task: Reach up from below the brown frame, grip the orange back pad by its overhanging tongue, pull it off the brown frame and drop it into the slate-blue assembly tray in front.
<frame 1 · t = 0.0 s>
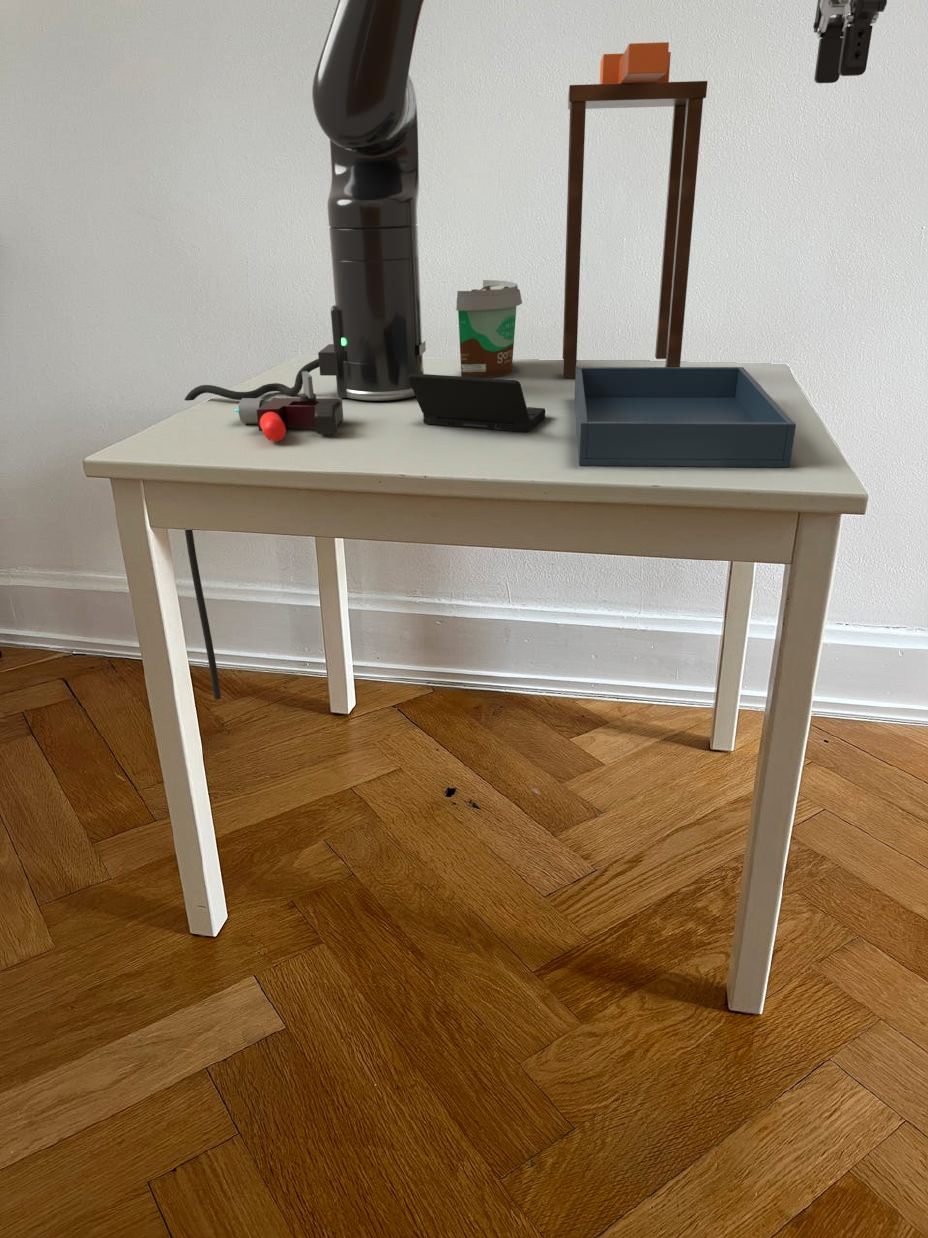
hand: (838, 79, 84), 29 cm above the table, tool pointing down, fingers open, 8 cm apart
brown frame: (617, 367, 112), on the table
food container: (495, 372, 111), on the table
toy gun: (281, 434, 87), on the table
handheld gaming console: (479, 427, 88), on the table
back pad: (632, 88, 99), point 30 cm above the table, touching brown frame
tray: (668, 430, 85), on the table
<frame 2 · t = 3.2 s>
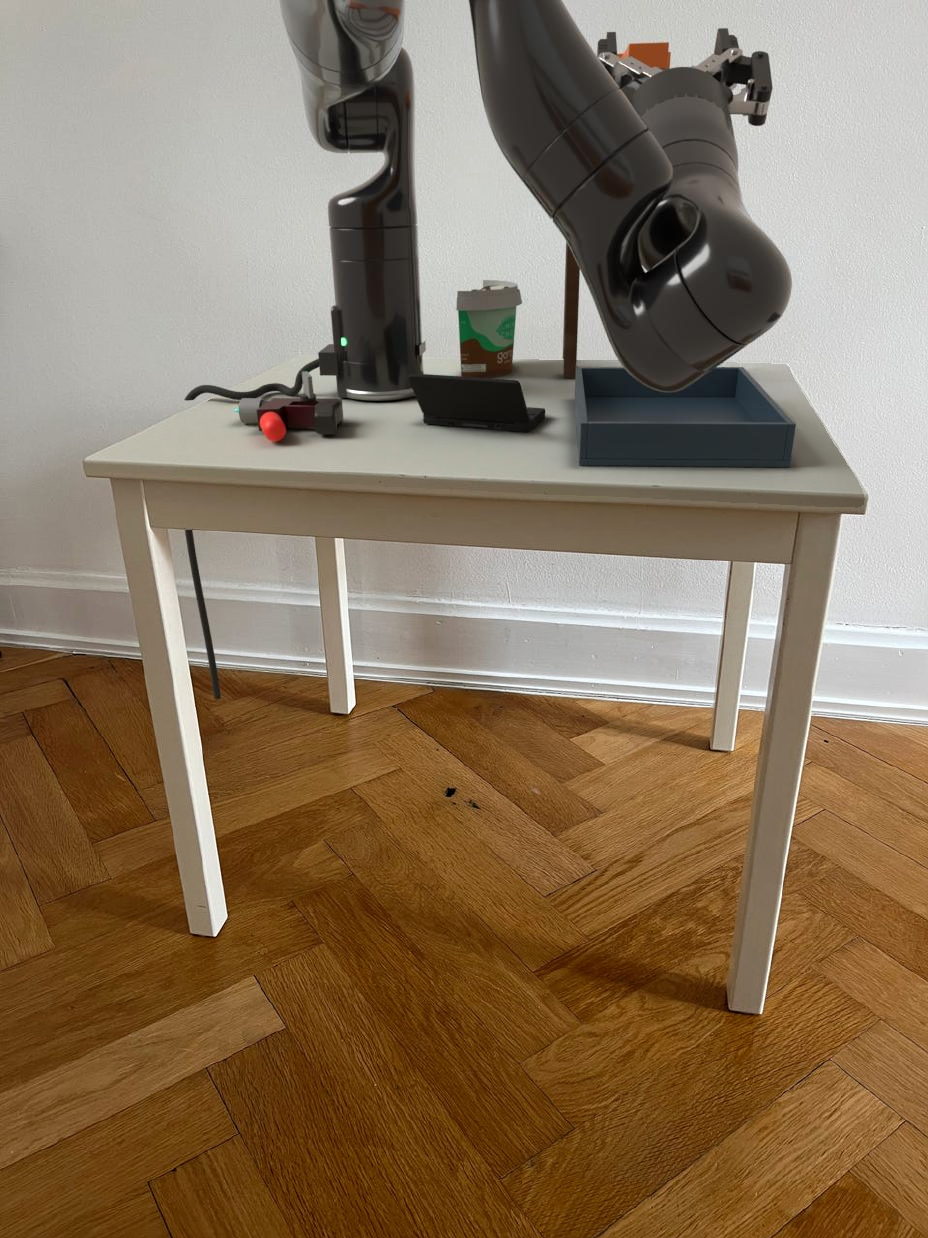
hand: (664, 42, 71), 31 cm above the table, tool pointing upward, fingers open, 8 cm apart
nothing on the table moved.
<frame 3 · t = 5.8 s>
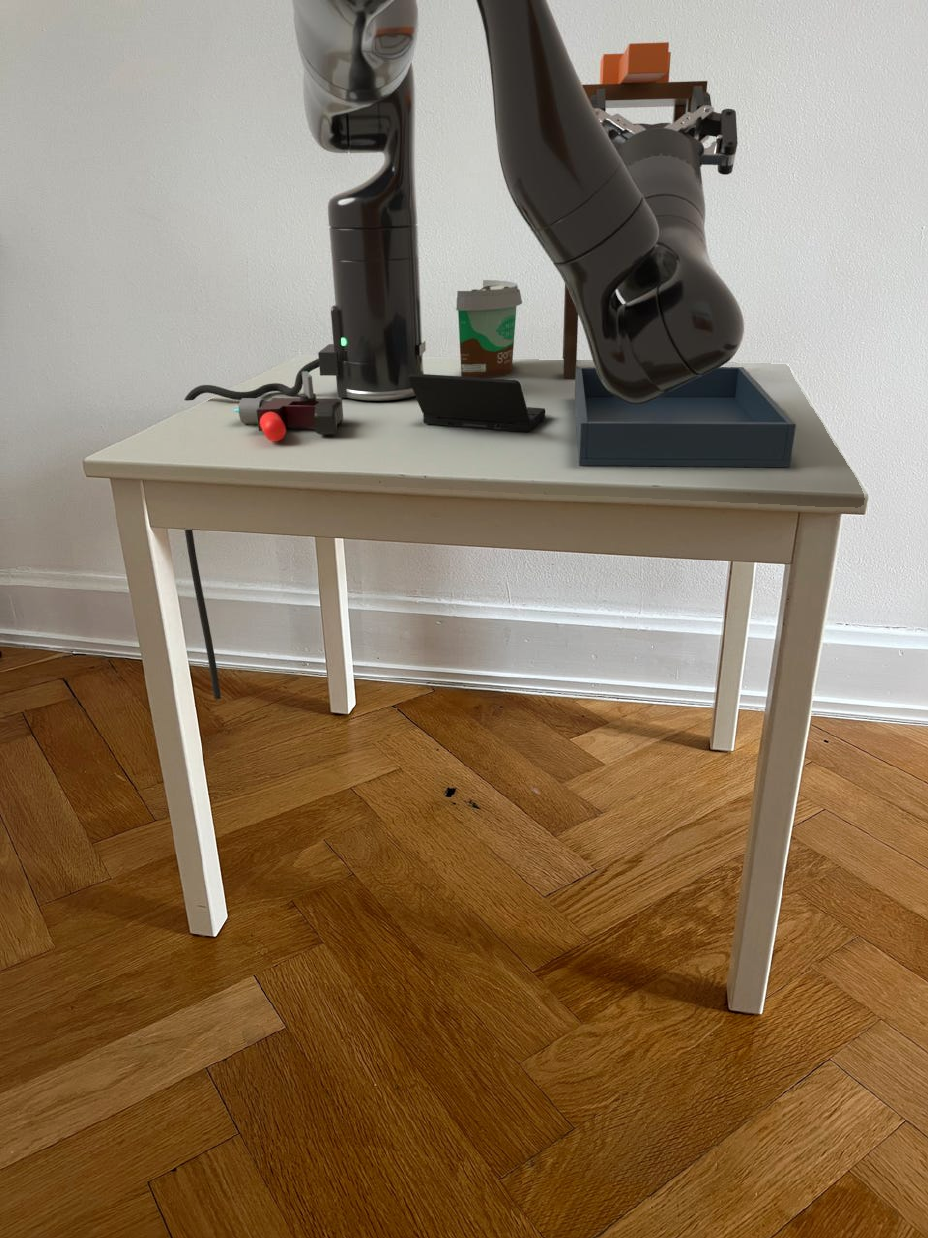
hand: (647, 97, 81), 28 cm above the table, tool pointing upward, fingers open, 8 cm apart
nothing on the table moved.
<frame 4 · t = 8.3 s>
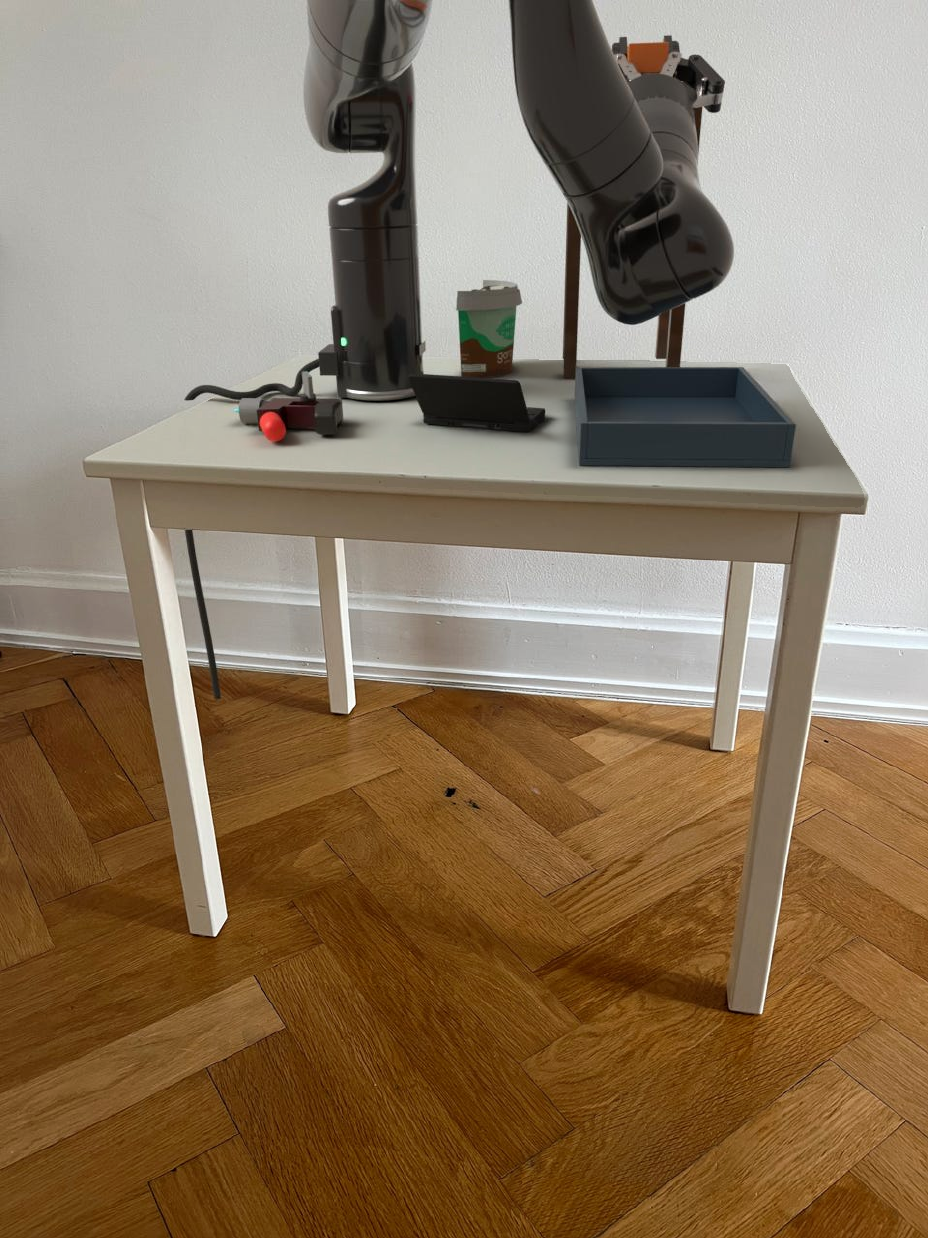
hand: (643, 46, 87), 33 cm above the table, tool pointing upward, fingers closed on back pad, 3 cm apart
back pad: (632, 88, 99), point 30 cm above the table, touching gripper, brown frame
everything else where it was.
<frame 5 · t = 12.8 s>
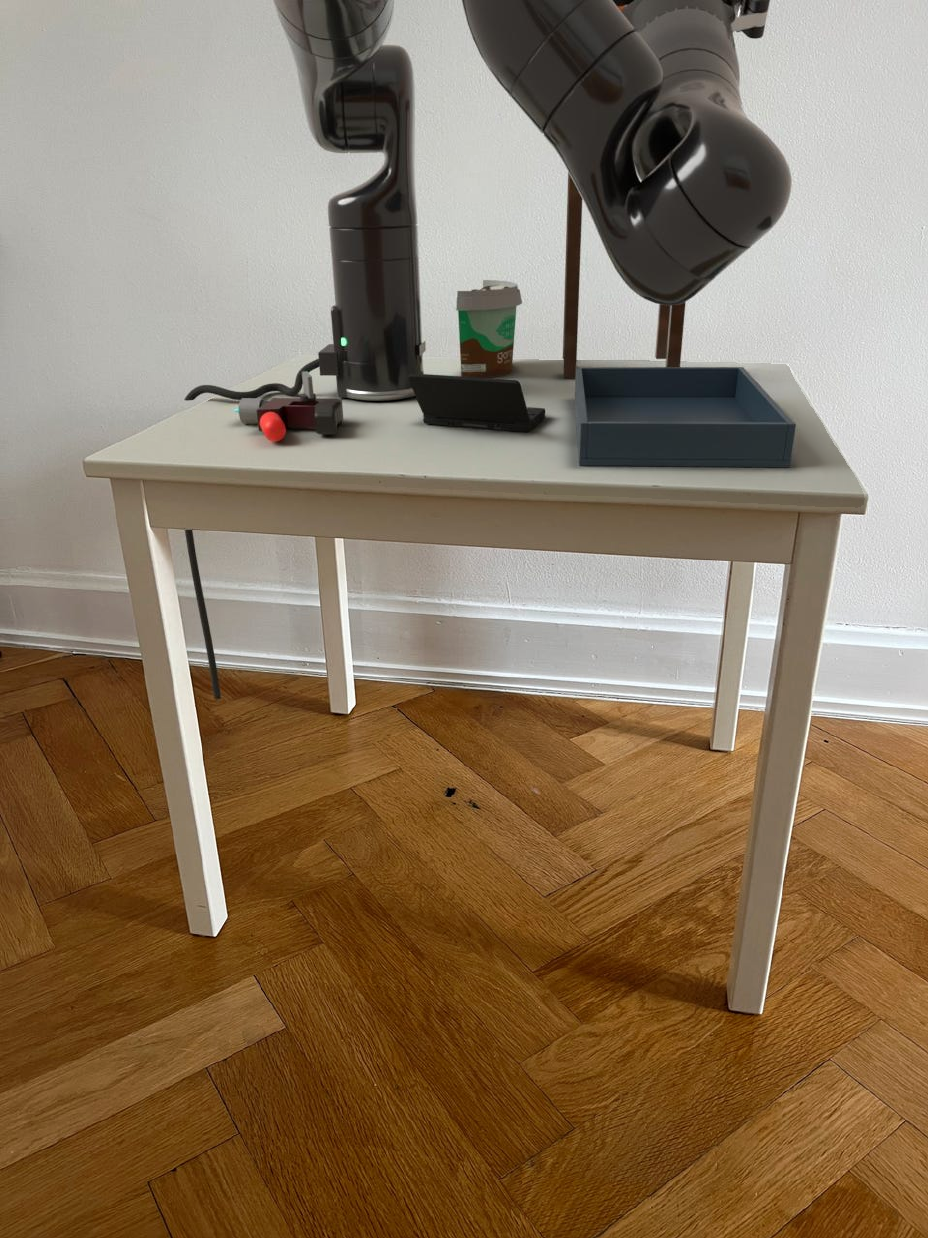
back pad: (649, 26, 83), point 34 cm above the table, touching gripper
everything else where it was.
when the fingers open (22 cm above the table, at t = 17.6 s): back pad drops 18 cm, resting on tray.
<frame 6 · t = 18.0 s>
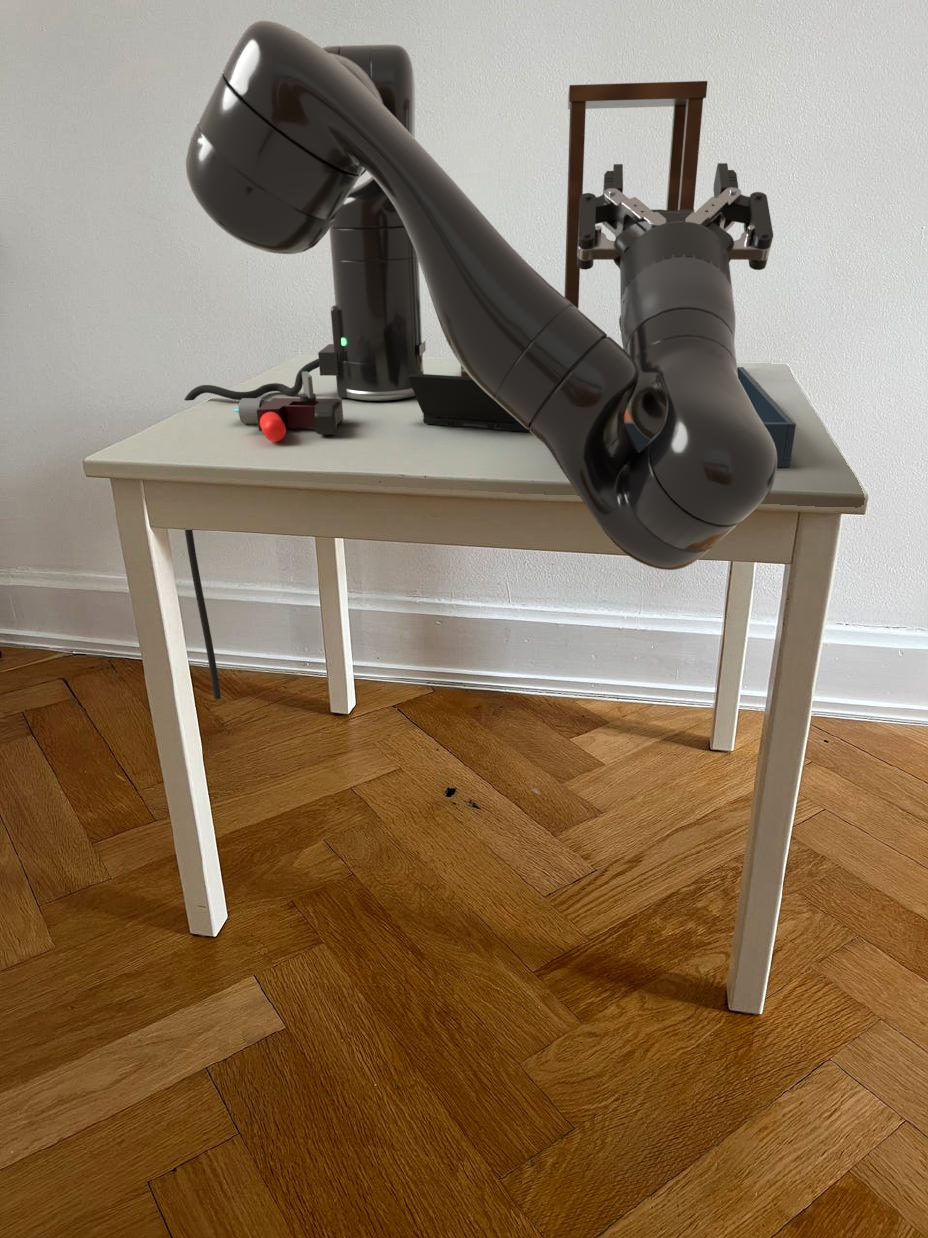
hand: (667, 174, 71), 22 cm above the table, tool pointing upward, fingers open, 7 cm apart
back pad: (637, 405, 91), point 1 cm above the table, touching tray
everything else where it was.
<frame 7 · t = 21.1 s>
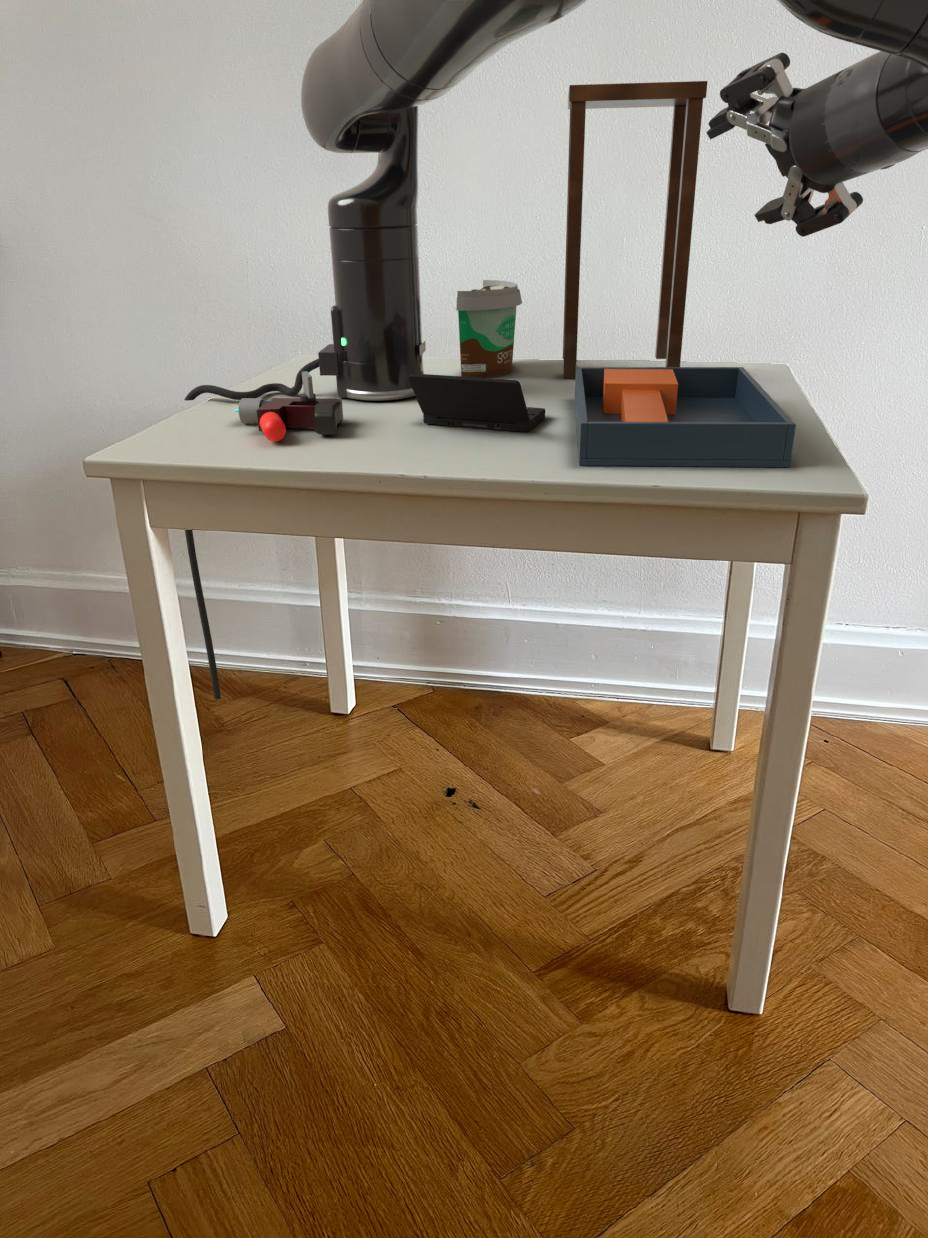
hand: (738, 171, 82), 22 cm above the table, tool horizontal, fingers open, 8 cm apart
nothing on the table moved.
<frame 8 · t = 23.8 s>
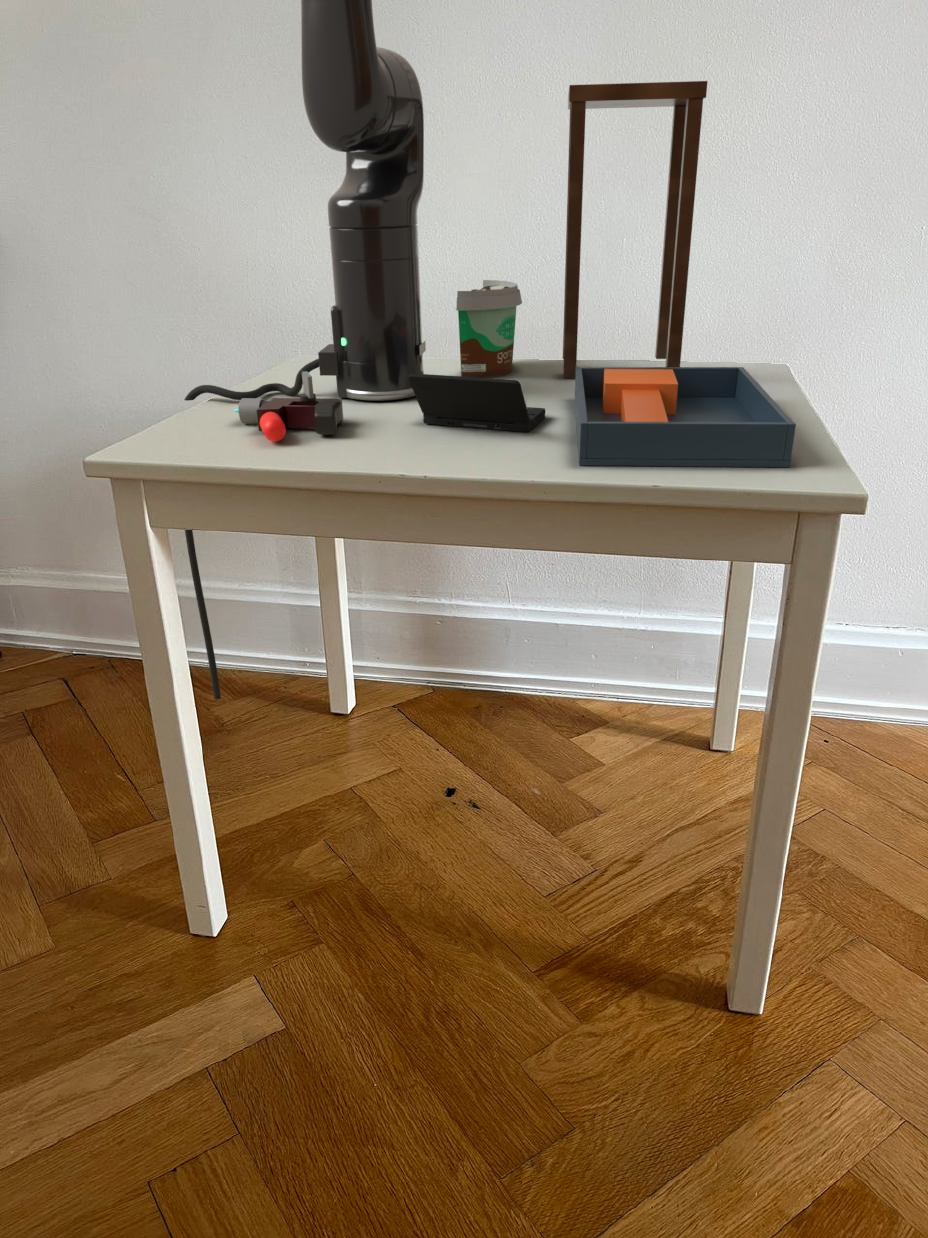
nothing on the table moved.
at the end: back pad inside the target area in the tray (7.5 cm from its centre), point 0.6 cm above the tray's base; back pad touching tray; the gripper is holding nothing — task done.
